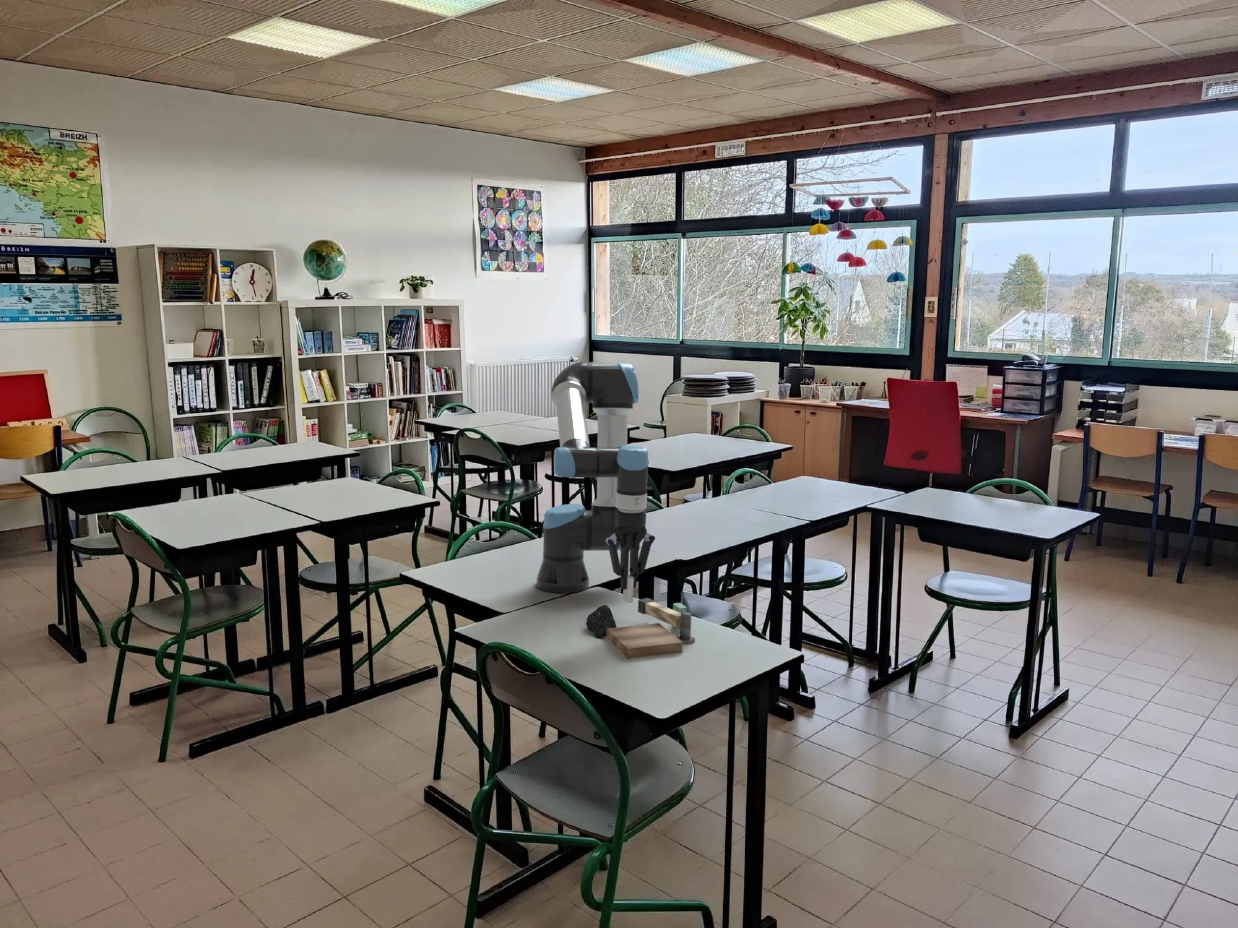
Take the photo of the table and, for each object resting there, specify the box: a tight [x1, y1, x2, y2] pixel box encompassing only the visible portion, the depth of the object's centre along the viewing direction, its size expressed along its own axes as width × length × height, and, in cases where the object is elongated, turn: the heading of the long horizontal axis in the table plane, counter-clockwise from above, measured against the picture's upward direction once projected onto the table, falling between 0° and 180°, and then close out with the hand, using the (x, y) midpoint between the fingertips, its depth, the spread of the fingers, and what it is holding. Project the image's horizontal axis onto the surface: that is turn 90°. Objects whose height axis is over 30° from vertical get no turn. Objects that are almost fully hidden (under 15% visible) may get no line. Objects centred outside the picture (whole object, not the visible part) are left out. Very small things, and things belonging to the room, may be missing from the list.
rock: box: [585, 604, 617, 640], centre depth 234 cm, size 7×10×6 cm
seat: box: [605, 611, 696, 660], centre depth 226 cm, size 14×20×7 cm
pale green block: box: [672, 602, 688, 631], centre depth 238 cm, size 4×2×6 cm, turn 21°
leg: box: [637, 597, 681, 628], centre depth 236 cm, size 15×3×3 cm, turn 37°
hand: (627, 600), depth 234 cm, fingers closed
